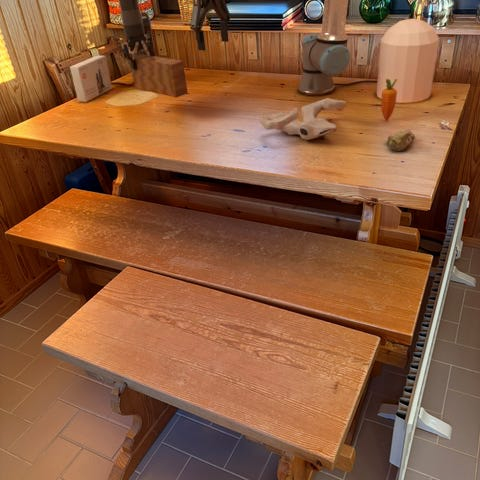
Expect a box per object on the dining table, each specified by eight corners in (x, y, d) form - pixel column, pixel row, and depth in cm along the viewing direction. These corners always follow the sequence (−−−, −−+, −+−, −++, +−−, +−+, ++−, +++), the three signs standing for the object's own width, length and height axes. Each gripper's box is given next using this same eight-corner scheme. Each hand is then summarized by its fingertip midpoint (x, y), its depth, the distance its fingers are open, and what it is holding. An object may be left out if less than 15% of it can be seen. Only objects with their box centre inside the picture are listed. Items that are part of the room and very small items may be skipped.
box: (135, 88, 189) (128, 57, 182) (146, 84, 192) (140, 54, 185) (176, 97, 174) (171, 64, 167) (187, 93, 177) (183, 60, 170)
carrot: (394, 118, 167) (398, 76, 158) (393, 123, 163) (397, 80, 154) (379, 117, 168) (383, 75, 160) (378, 122, 165) (382, 80, 156)
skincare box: (87, 102, 214) (77, 67, 204) (78, 102, 215) (68, 66, 206) (113, 88, 229) (105, 54, 220) (104, 88, 231) (96, 54, 222)
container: (400, 106, 176) (410, 27, 160) (365, 93, 192) (370, 19, 176) (442, 95, 182) (455, 17, 167) (404, 83, 199) (413, 11, 183)
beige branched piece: (257, 147, 155) (255, 112, 149) (269, 121, 176) (267, 89, 170) (343, 147, 149) (345, 111, 143) (345, 120, 170) (346, 87, 164)
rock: (408, 140, 153) (379, 139, 152) (414, 122, 149) (384, 120, 148) (421, 154, 144) (391, 153, 143) (428, 135, 140) (396, 133, 139)
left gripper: (141, 17, 181) (149, 62, 190) (111, 25, 172) (121, 71, 182) (153, 18, 176) (161, 64, 186) (123, 26, 168) (133, 73, 178)
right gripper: (191, -16, 146) (199, 54, 158) (237, -27, 162) (242, 38, 174) (173, -16, 150) (183, 53, 162) (220, -26, 166) (226, 37, 178)
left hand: (141, 67), depth 184 cm, fingers closed on box, 6 cm apart
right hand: (213, 45), depth 168 cm, fingers open, 13 cm apart
